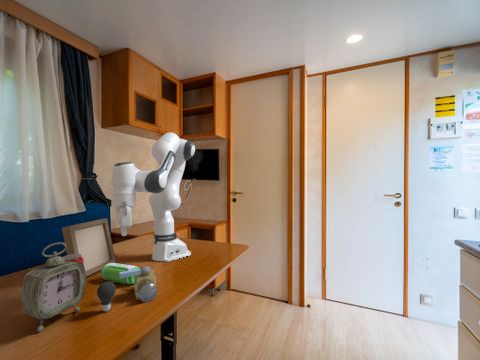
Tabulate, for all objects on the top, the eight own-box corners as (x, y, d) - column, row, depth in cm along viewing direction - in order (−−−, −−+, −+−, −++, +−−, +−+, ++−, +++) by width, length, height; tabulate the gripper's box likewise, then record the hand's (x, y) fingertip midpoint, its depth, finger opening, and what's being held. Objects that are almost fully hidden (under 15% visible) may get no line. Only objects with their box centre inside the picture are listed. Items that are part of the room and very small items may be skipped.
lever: (148, 270, 92) (148, 265, 92) (150, 273, 89) (150, 268, 89) (119, 276, 86) (119, 271, 86) (119, 279, 83) (119, 274, 83)
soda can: (64, 300, 84) (64, 261, 84) (55, 295, 88) (55, 257, 88) (87, 291, 91) (87, 255, 91) (78, 287, 95) (78, 252, 95)
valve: (150, 284, 97) (150, 265, 97) (158, 299, 85) (157, 278, 85) (133, 288, 93) (133, 269, 93) (138, 304, 81) (138, 282, 81)
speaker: (142, 280, 101) (142, 264, 101) (130, 288, 94) (130, 270, 94) (113, 275, 107) (113, 259, 107) (99, 282, 100) (99, 265, 100)
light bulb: (102, 306, 80) (102, 279, 80) (118, 306, 80) (118, 278, 80) (93, 316, 74) (93, 286, 74) (110, 315, 75) (110, 285, 75)
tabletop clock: (36, 337, 64) (35, 251, 64) (17, 330, 67) (17, 247, 68) (85, 310, 78) (85, 238, 78) (68, 305, 81) (68, 236, 81)
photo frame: (115, 264, 121) (115, 218, 121) (79, 281, 100) (79, 226, 100) (92, 262, 124) (92, 217, 124) (53, 279, 103) (53, 225, 103)
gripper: (135, 202, 84) (135, 239, 84) (129, 199, 101) (129, 229, 101) (116, 203, 81) (116, 241, 81) (113, 199, 98) (113, 231, 98)
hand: (123, 234), depth 91 cm, fingers closed
